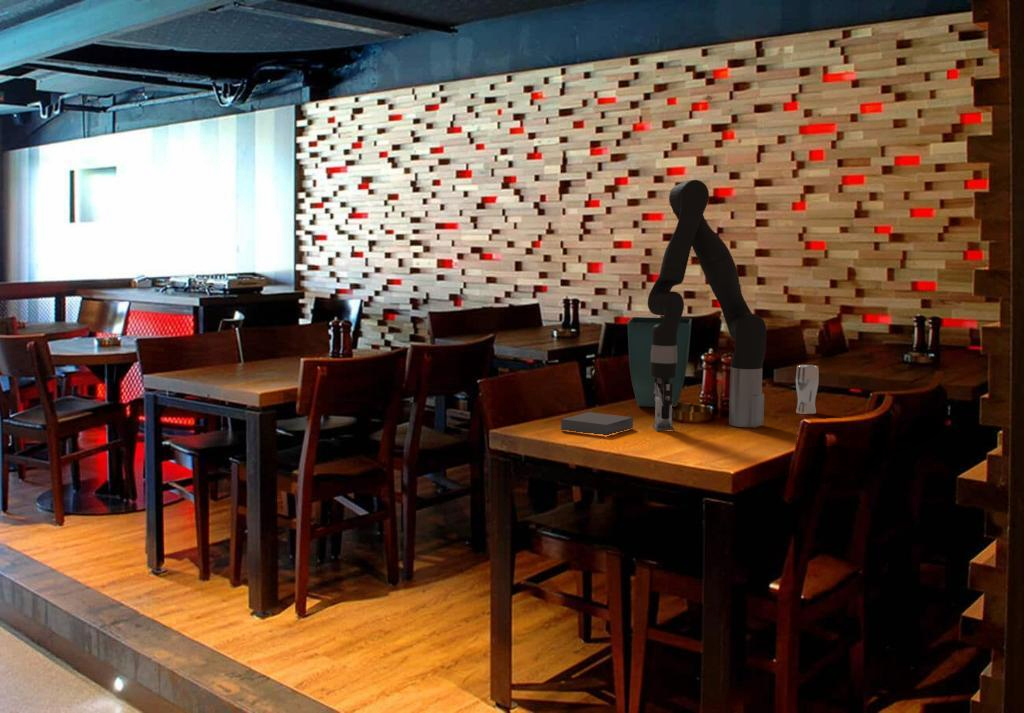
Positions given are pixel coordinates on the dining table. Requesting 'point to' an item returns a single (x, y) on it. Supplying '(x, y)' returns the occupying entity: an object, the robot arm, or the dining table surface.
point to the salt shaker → (659, 422)
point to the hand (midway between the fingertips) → (662, 416)
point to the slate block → (597, 423)
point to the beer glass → (806, 388)
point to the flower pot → (641, 358)
